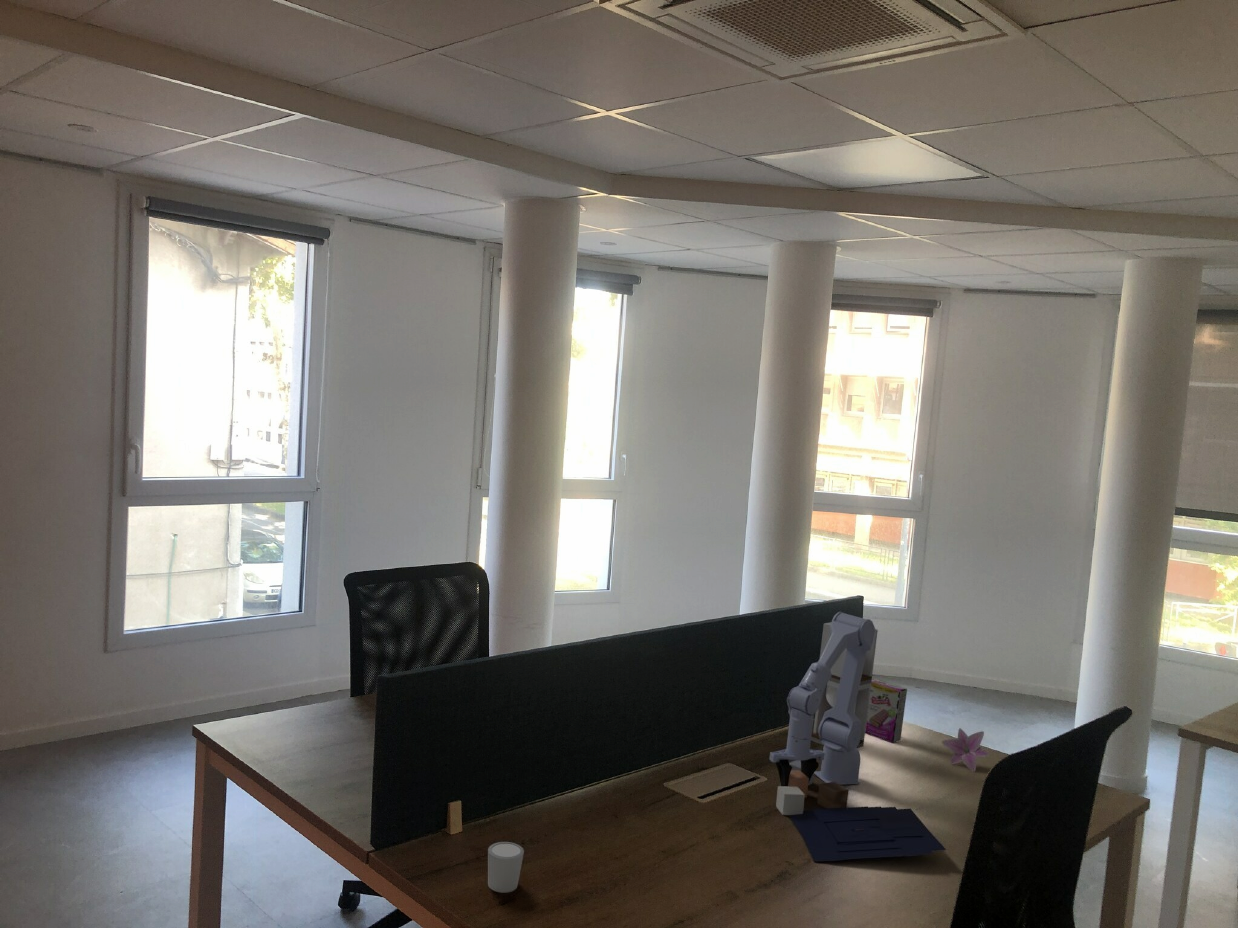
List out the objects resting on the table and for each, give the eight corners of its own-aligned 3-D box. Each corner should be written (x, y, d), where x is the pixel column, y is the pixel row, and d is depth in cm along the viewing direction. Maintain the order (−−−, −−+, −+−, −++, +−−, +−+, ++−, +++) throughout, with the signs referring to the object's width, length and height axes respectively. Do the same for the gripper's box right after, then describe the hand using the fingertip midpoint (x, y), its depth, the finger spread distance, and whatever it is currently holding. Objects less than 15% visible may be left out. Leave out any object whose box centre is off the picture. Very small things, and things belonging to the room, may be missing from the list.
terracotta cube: (796, 788, 243) (798, 769, 242) (806, 797, 238) (809, 777, 237) (779, 789, 241) (781, 770, 240) (789, 798, 236) (791, 778, 236)
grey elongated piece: (810, 739, 281) (823, 623, 278) (830, 733, 288) (844, 620, 286) (842, 753, 273) (857, 633, 270) (863, 746, 280) (877, 629, 277)
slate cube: (795, 777, 251) (798, 758, 251) (812, 783, 248) (814, 765, 248) (786, 781, 248) (788, 763, 247) (803, 788, 244) (805, 769, 244)
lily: (935, 758, 279) (936, 735, 274) (965, 741, 283) (967, 718, 278) (965, 786, 270) (968, 763, 265) (996, 767, 274) (999, 744, 269)
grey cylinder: (485, 874, 186) (489, 839, 185) (521, 876, 187) (524, 841, 186) (483, 893, 179) (487, 857, 179) (520, 895, 180) (523, 859, 179)
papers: (950, 866, 207) (950, 849, 207) (814, 874, 205) (814, 857, 204) (907, 815, 231) (907, 801, 231) (785, 822, 229) (785, 807, 228)
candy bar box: (860, 732, 292) (866, 680, 291) (868, 729, 296) (874, 677, 295) (893, 744, 285) (900, 690, 283) (901, 740, 288) (908, 687, 287)
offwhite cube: (795, 806, 232) (797, 786, 232) (802, 815, 227) (804, 794, 227) (776, 806, 232) (777, 785, 231) (782, 814, 227) (784, 793, 226)
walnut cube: (831, 800, 239) (833, 781, 238) (846, 808, 234) (848, 789, 234) (817, 803, 236) (819, 784, 235) (832, 812, 232) (834, 792, 231)
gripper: (816, 728, 244) (810, 779, 245) (766, 730, 239) (760, 782, 241) (831, 739, 238) (825, 791, 239) (780, 740, 233) (773, 794, 234)
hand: (793, 787), depth 239 cm, fingers closed on terracotta cube, 5 cm apart
